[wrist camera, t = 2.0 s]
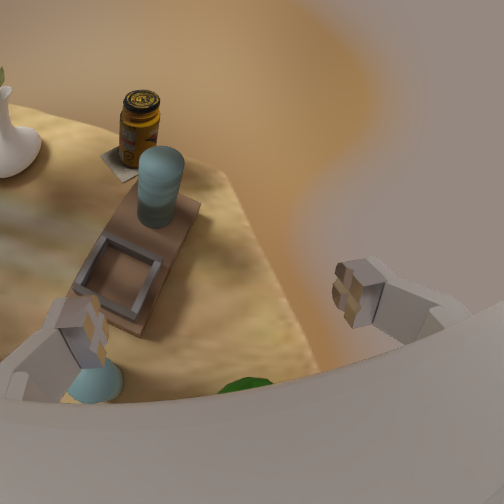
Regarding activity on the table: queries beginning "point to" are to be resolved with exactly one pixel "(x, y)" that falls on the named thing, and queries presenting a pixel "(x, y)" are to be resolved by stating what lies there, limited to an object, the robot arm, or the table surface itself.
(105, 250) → the base
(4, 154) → the flower in vase
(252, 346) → the table surface
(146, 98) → the condiment
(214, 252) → the table surface
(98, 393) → the column
